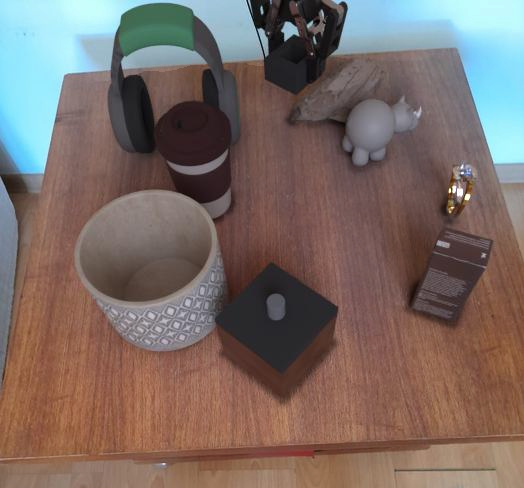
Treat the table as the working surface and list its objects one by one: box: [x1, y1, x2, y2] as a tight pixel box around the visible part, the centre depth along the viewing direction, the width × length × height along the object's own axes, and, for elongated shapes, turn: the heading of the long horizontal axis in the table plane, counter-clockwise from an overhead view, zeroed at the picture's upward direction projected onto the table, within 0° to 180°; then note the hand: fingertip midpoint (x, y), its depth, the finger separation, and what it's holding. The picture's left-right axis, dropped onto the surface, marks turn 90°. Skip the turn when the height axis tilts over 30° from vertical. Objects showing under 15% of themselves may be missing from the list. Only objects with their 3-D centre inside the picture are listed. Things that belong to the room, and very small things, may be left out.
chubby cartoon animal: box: [341, 94, 423, 167], centre depth 73 cm, size 7×12×8 cm, turn 107°
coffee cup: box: [154, 100, 232, 220], centre depth 67 cm, size 10×10×15 cm
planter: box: [73, 189, 229, 352], centre depth 61 cm, size 16×16×13 cm
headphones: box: [107, 2, 242, 155], centre depth 71 cm, size 19×11×20 cm, turn 93°
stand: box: [216, 312, 339, 399], centre depth 59 cm, size 10×10×8 cm
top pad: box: [263, 33, 327, 96], centre depth 65 cm, size 6×6×3 cm
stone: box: [288, 56, 388, 124], centre depth 78 cm, size 15×9×10 cm
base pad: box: [215, 261, 339, 374], centre depth 54 cm, size 10×10×4 cm
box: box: [409, 225, 494, 323], centre depth 59 cm, size 6×4×12 cm
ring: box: [445, 159, 478, 219], centre depth 68 cm, size 7×3×8 cm, turn 168°
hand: (294, 71), depth 66 cm, fingers closed on top pad, 5 cm apart
